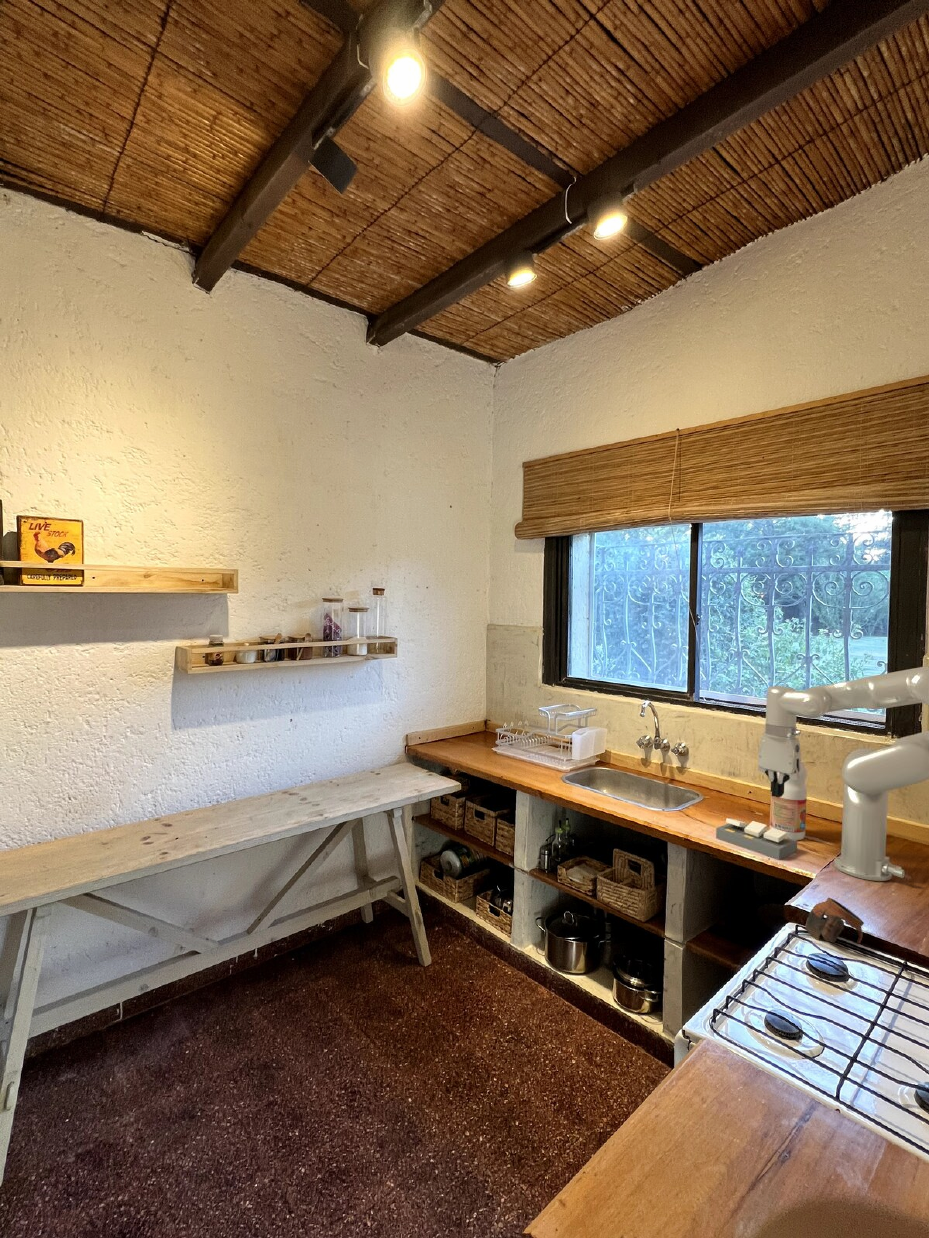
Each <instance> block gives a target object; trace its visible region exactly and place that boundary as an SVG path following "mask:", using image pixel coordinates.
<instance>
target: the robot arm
mask: <svg viewBox="0 0 929 1238" xmlns="http://www.w3.org/2000/svg"><path fill="white" fill-rule="evenodd" d="M915 704H925V705H927V706H928V707H929V666H927V665H926V666H920V667H915V668H910V669H909V668H908V669H904V670H899V671H894V672H887V673H881V674H877V675H871V676H865V677H861V678H857V679H853V680H847V681H839V682H835V683H830V684H825V685H818V686H814V687H811V688H810V687H809V688H807V689H805V690H796V689H795V688H792V687H789V686H782V685H775V686H773V685H772V686H769V687H768V689H767V691H766V707H765V709H766V711H765V723H764V724H765V725H764V727H765V728H764V729H765V730H764V732H763V733H762V736H761V738H760V743H759V746H758V747H759V748H758V754H757V755H758V757H757V760H758V761H757V765H758V767H757V770H758V771H759V772H761V773H763V774H765V775H766V776H767V778H768V780H769V782H770V793H771V792H772V796H773V797H774V796H775V797H777V798H778V797H781V796H782V795H783V794H784V784H785V782H786V781H788V780H789V779H790V780H796V779H799V774H798V773H799V772H800V771H801V762H802V752H801V743H800V738H799V737H796V736H801V734H802V732H801V730H800V729H798V728H797V716H800V717H804V718H808V719H820V718H821V717H823V716H824V715H826V713H827V714H828V713H832V712H839V711H845V710H851V709H866V710H867V709H868V710H883V709H889V708H894V707H901V706H902V707H903V706H908V705H915ZM841 768H842V769H841V776H842V780H843V781H844V784H843V799H842V800H843V801H842V802H843V803H842V804H843V805H842V824H841V827H842V828H841V847H840V848H841V849H840V856H837V857H835V858H834V859H833V866H834V867H835V868H836V869H837V870H839V871H841V872H843V873H844V874H847V875H849V876H851V877H855V878H858V879H863V880H868V881H872V882H873V881H874V882H883V881H885V882H886V881H888V880H891V879H892V877H893V876H895V877H897V878H901V879H904V878H905V870H904V869H903V867H901V866H899V865H895V864H893V863H891V862H890V856H886V849H887V828H888V827H887V824H888V822H887V821H888V807H889V791H893V790H897V789H900V788H906V787H909V786H912V785H915V784H919V783H922V782H925V781H927V780H929V730H926V731H922V732H918V733H915V734H911V735H906V736H903V737H900V738H898V739H896V740H895V741H894V742H893V743H892V745H890V746H887V747H884V748H880V749H878V750H875V749H871V748H865V747H864V748H857V749H855V750H853V751H851V752H850V753H849V754H848V755H847V756H846V758H845V760H844V761H843V765H842V767H841ZM777 772H779V777H778V773H777Z"/></svg>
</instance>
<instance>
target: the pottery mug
mask: <svg viewBox="0 0 929 1238" xmlns="http://www.w3.org/2000/svg"><path fill="white" fill-rule="evenodd" d="M825 916H826V917H825ZM824 917H825V919H824ZM844 921H845V922H844ZM864 924H865V922H864V921H863V920H862V919H861V918H860V917H859V916H858V915H856V914H855V913H854V912H853V911H852V910H850V909H849V908H847V907H846V906H845V905H843V904H841V903H840V902H839V901H837V900H835V899H833V898H831V897H827V899H826V900H825V901H822V902H821V901H820V902H818V903H816V904H815V905H814V906H813V908H812V909H811V910H810V912H809V915H808V917H807V918H806V923H805V926H804V928H805V930H806V931H807V932H808V933H809V935H810V936H811V937H813V938H814V939H815V940H816V941H819V940H820V936H821V935H822V937H823V940H825V941H827V942H830V943H836V941H837V940H838V938H839V935H840V934H841V933H842V931H843V930H845V929H844V928H845V927H844V926H845V925H848V926H850V927H851V928H853V929H855V930H856V932H857V935H858V938H857V941H856V943H857V944H861V942H862V939H863V930H862V929H863V928H862V927H863V925H864Z"/></svg>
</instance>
